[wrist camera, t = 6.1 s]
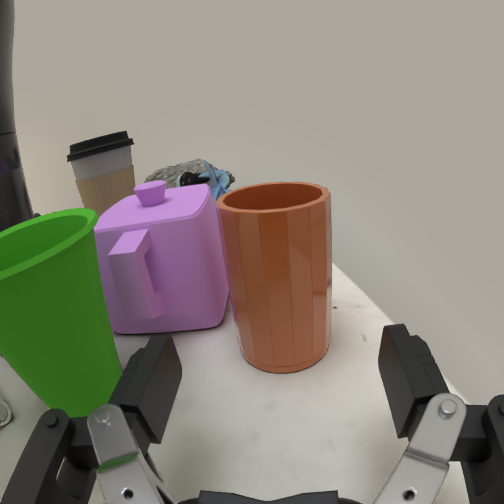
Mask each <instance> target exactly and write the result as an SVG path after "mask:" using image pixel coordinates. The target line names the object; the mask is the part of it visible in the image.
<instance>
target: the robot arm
mask: <svg viewBox="0 0 504 504" xmlns="http://www.w3.org/2000/svg"><path fill="white" fill-rule="evenodd" d="M13 36H14V0H0V232H2V231H4V230H6V229H8V228H10V227H13V226H15V225H18V224H20V223H22V222H25V221H28V220H30V219H33V218H36V217H39V216H41V215H40V214H38V213H35V214H33V210H32V206H31V203H30V199H29V195H28V191H27V187H26V182H25V177H24V173H23V168H22V164H21V158H20V153H19V147H18V142H17V135H16V128H15V121H14V103H13V101H14V100H13V85H12V51H13ZM0 354H1V353H0ZM378 365H379V371H380V375H381V378H382V381H383V385H384V388H385V392H386V395H387V399H388V402H389V406H390V410H391V413H392V417H393V421H394V425H395V429H396V433H397V436H398V439H399V438H404V437H408V441H409V444H408V446H407V448H406V450H405V452H404V453H403V455H402V457H401V459H400V461H399V462H398V464H397V466H396V468H395V469H394V471H393V473H392V474H391V476H390V478H389V479H388V481H387V483H386V484H385V486H384V487H383V489H382V490H381V492H380V494H379V495H378V497H377V498H376V500H375V501H374V503H373V504H433V502H434V500H435V498H436V496H437V494H438V492H439V490H440V488H441V486H442V484H443V482H444V479H445V477H446V475H447V472H448V470H449V466H450V465H449V464H448V462H449V461H460V462H461V466H462V470H463V475H464V479H465V483H466V488H467V493H468V497H469V502H470V504H504V395H498V396H495V397H494V398H493V399H492V400H491V401H490V402H489V404H488V405H467V404H465V403H464V401H463V400H462V399H461V398H460V397H458V396H457V395H454V394H451V393H450V392H449V390H448V387H447V385H446V383H445V381H444V379H443V376H442V374H441V372H440V370H439V368H438V366H437V364H436V363H435V360H434V358H433V356H432V355H431V352H430V349H429V348H428V345H427V343H426V342H424V341H423V340H422V339H421V338H420V337H419V336H417V335H415V336H410V334H409V332H408V330H407V328H406V326H405V325H404V324H396V325H388V326H384V328H383V333H382V339H381V345H380V350H379V356H378ZM122 374H123V375H122V376H121V377H120V379H119V381H118V383H117V385H116V387H115V389H114V391H113V393H112V395H111V397H110V399H109V401H108V403H107V404H103V405H100V406H98V407H96V408H95V409H93V410H92V411H91V413H90V414H89V416H85V417H74V418H70V417H69V416H68V415H67V413H66V412H65V411H64V410H62V409H51V410H48V411H47V412H45V413H44V414H43V415H42V416H41V417H40V419H39V421H38V423H37V425H36V427H35V429H34V430H33V432H32V434H31V436H30V438H29V440H28V442H27V444H26V446H25V449H24V451H23V453H22V455H21V457H20V459H19V461H18V463H17V465H16V468H15V470H14V472H13V474H12V476H11V479H10V481H9V483H8V486H7V488H6V490H5V493H4V495H3V497H2V500H1V502H0V504H88V502H89V498H90V495H91V492H92V489H93V486H94V483H95V480H96V477H97V478H98V481H99V484H100V487H101V490H102V493H103V495H104V498H105V501H106V503H107V504H362V503H360V502H357V501H354V500H350V499H346V498H339V497H338V490H335V491H325V492H312V493H302V494H298V495H294V496H290V497H286V498H282V499H277V500H273V501H262V500H258V499H254V498H250V497H246V496H242V495H238V494H235V493H226V492H213V491H203V490H200V495H199V498H193V499H188V500H185V501H182V502H179V503H178V502H177V501H176V499H175V498H174V496H173V495H172V493H171V492H170V491H169V489H168V487H167V486H166V484H165V482H164V480H163V478H162V476H161V474H160V473H159V471H158V469H157V467H156V465H155V463H154V461H153V459H152V457H151V455H150V453H149V451H148V447H149V444H150V443H156V444H161V441H162V437H163V434H164V431H165V428H166V425H167V422H168V418H169V415H170V412H171V409H172V406H173V403H174V400H175V397H176V394H177V391H178V387H179V384H180V381H181V378H182V366H181V362H180V359H179V357H178V354H177V351H176V348H175V345H174V342H173V339H172V337H170V336H152V337H151V338H150V339H149V341H148V343H147V345H146V347H145V348H140V349H139V350H138V351H137V352H136V353H135V354H133V355H132V356H131V358H130V360H129V362H128V364H127V366H126V368H125V370H124V372H123V373H122ZM63 458H64V459H65V460H64V463H63V465H62V468H61V470H60V473H59V475H58V478H57V480H56V477H57V473H58V470H59V468H60V465H61V463H62V461H63Z"/></svg>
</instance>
